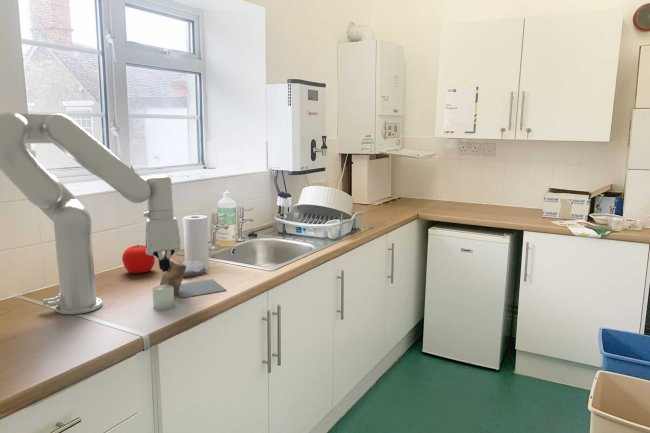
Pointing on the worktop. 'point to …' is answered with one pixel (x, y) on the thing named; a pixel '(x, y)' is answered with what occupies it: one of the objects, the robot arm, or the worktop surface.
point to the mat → (199, 288)
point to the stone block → (193, 268)
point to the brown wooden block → (174, 275)
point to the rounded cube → (163, 297)
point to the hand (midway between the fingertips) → (164, 270)
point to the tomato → (137, 259)
